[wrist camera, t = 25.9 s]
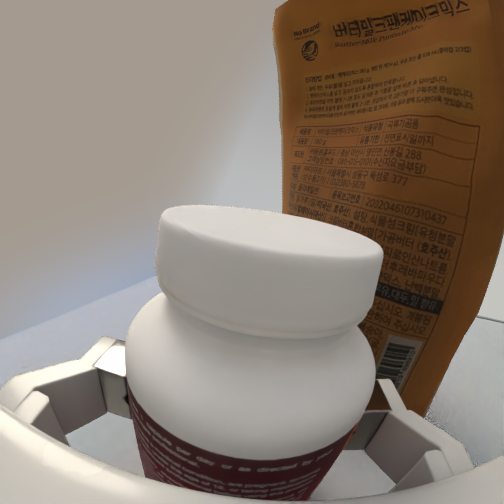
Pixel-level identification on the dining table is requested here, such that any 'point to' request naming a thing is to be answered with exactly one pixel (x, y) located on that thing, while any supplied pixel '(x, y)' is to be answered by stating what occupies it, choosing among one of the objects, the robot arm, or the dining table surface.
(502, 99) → the pancake mix bag
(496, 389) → the dining table surface
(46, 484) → the robot arm
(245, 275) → the pill bottle
